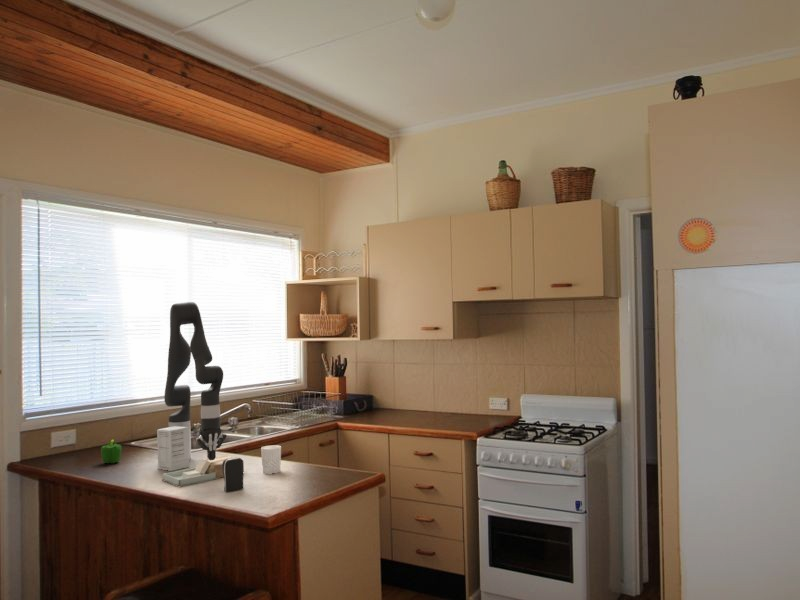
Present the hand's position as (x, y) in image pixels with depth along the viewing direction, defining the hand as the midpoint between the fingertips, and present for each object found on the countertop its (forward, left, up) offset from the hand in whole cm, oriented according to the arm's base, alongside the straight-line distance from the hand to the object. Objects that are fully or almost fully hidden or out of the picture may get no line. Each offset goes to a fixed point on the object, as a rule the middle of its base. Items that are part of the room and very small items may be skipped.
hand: (211, 459), depth 249 cm
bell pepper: (-58, -19, -6) cm, 61 cm away
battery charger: (+28, -6, -6) cm, 29 cm away
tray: (0, -10, -6) cm, 11 cm away
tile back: (0, -3, -3) cm, 4 cm away
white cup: (+15, +18, -6) cm, 24 cm away
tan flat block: (0, +4, -6) cm, 7 cm away
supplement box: (-25, -5, -6) cm, 26 cm away
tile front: (0, -8, -3) cm, 9 cm away
